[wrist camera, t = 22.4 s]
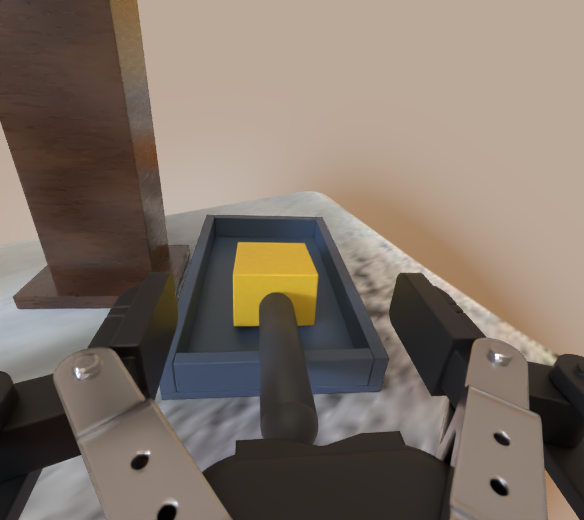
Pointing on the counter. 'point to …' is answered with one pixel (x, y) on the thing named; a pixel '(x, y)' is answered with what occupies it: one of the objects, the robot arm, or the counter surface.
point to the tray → (245, 339)
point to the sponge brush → (279, 331)
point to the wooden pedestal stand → (84, 149)
